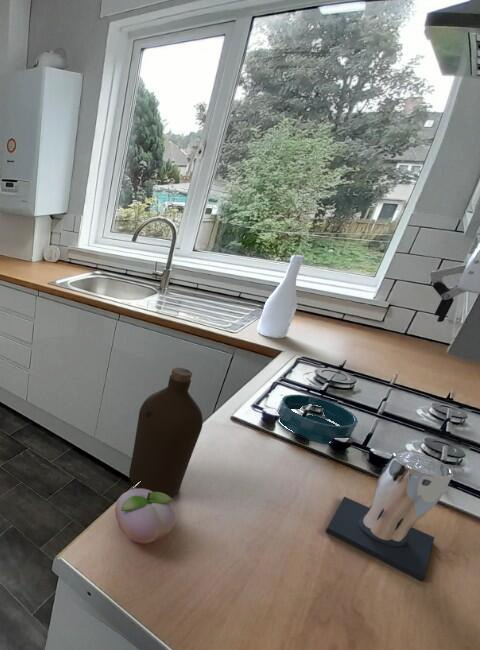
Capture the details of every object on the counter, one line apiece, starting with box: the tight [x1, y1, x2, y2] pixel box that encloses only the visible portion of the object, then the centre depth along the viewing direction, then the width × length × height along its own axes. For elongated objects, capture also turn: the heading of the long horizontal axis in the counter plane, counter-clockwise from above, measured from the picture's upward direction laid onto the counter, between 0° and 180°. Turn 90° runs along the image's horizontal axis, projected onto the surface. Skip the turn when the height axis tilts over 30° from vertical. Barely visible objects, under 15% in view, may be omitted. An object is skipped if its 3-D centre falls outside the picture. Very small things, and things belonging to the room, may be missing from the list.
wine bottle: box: [256, 254, 305, 339], centre depth 150 cm, size 10×10×30 cm
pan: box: [276, 394, 359, 445], centre depth 99 cm, size 14×14×5 cm
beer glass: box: [358, 449, 454, 547], centre depth 67 cm, size 7×7×15 cm
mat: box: [324, 496, 435, 582], centre depth 70 cm, size 12×12×1 cm
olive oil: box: [128, 367, 204, 498], centre depth 77 cm, size 11×11×25 cm
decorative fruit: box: [114, 488, 176, 544], centre depth 68 cm, size 9×8×10 cm
